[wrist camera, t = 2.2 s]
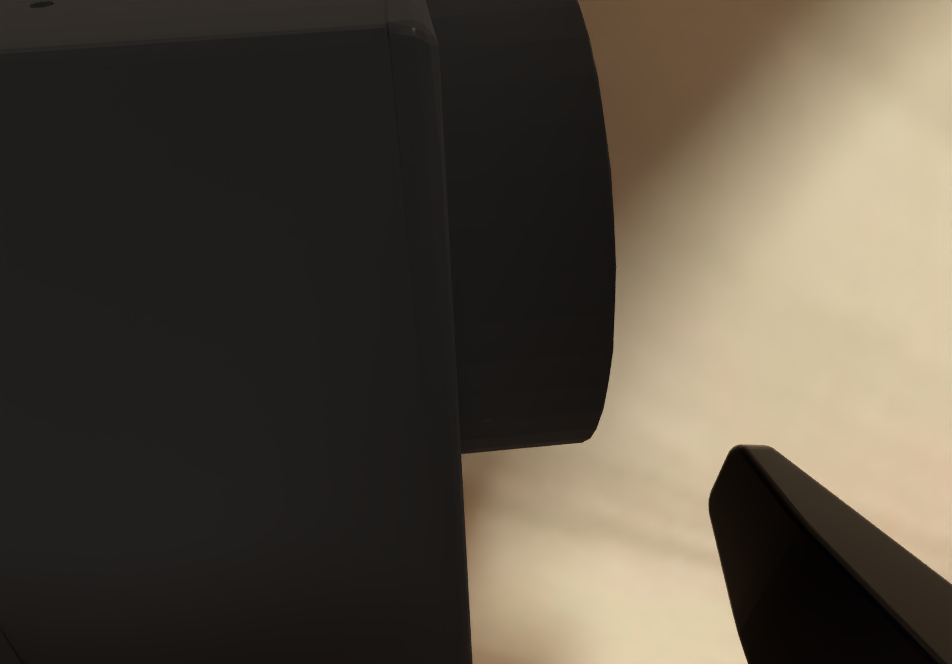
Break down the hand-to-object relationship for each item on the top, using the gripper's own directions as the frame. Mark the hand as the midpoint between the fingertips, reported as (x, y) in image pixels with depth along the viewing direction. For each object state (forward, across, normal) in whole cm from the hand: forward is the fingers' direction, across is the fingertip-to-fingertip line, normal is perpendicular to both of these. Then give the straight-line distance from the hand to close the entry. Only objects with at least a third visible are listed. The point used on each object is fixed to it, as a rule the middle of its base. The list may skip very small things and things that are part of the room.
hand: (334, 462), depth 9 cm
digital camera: (+5, 0, 0) cm, 5 cm away
